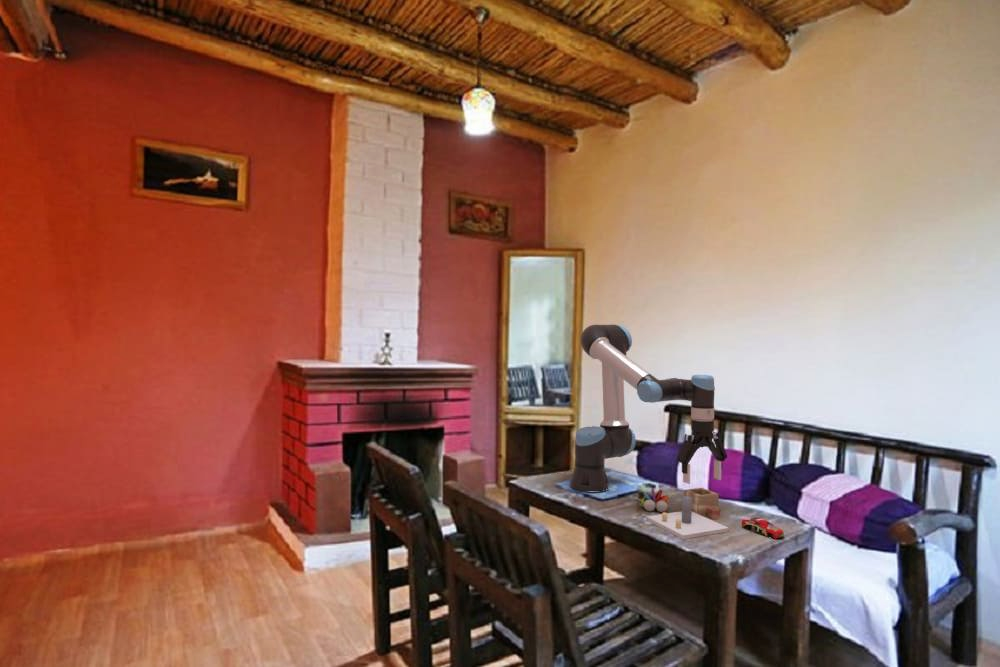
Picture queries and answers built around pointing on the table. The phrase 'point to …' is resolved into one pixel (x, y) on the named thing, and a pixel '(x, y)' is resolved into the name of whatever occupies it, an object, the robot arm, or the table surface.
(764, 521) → the race car
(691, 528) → the post board
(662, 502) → the rainbow spiky toy
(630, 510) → the table surface
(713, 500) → the flange collar
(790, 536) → the table surface
